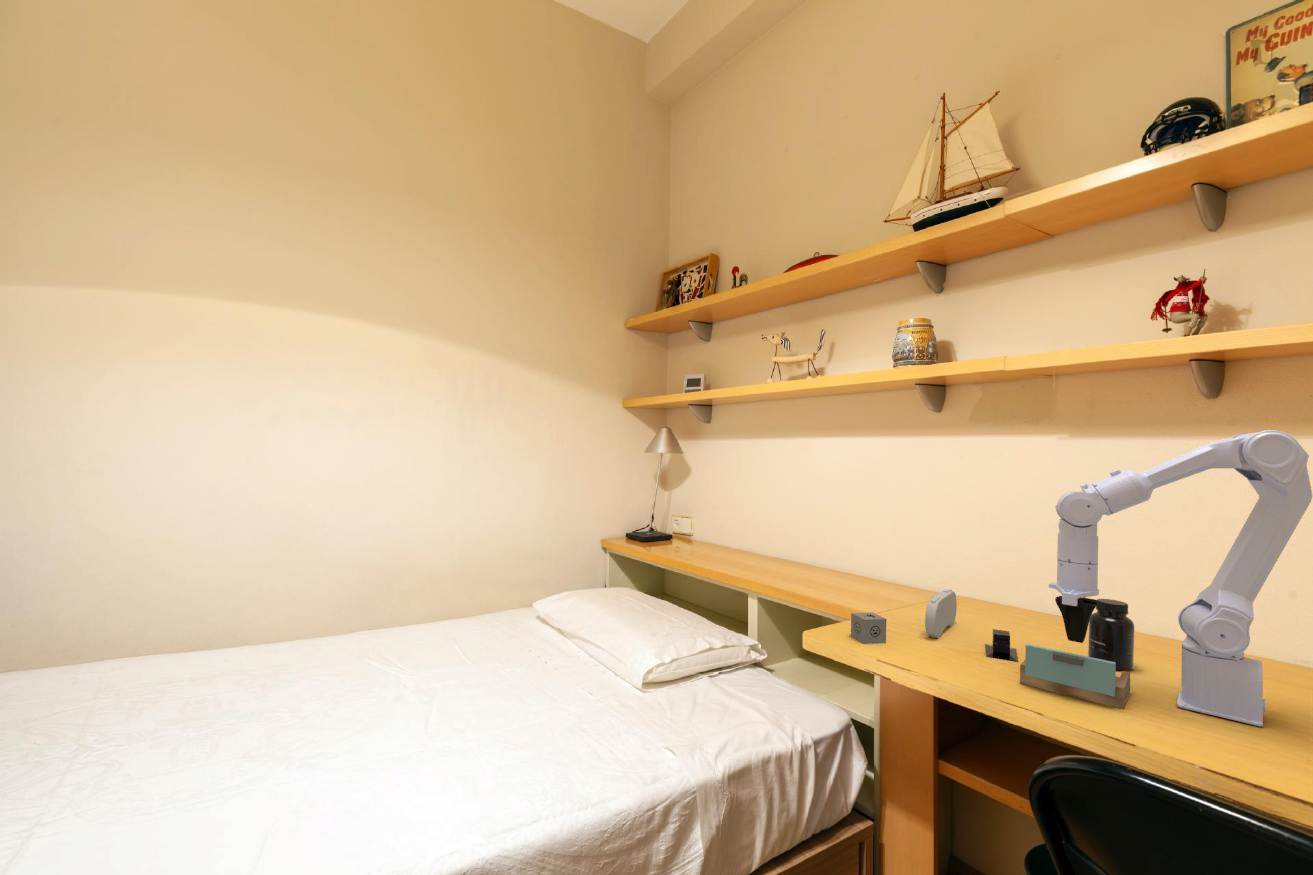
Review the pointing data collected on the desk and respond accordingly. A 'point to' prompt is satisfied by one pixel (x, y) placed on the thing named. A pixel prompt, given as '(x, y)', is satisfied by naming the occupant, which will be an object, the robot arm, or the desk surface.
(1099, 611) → the supplement bottle
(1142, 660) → the desk surface
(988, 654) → the black upright stand
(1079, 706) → the desk surface
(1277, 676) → the desk surface
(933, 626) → the game controller
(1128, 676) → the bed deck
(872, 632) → the dice cube
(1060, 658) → the panel
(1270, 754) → the desk surface
